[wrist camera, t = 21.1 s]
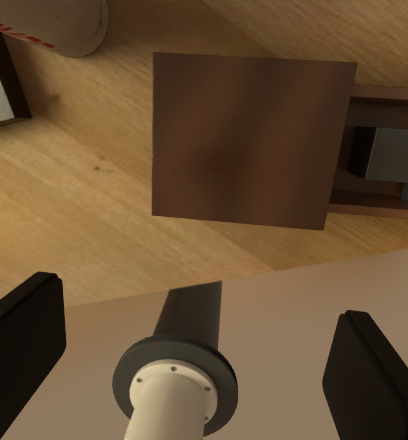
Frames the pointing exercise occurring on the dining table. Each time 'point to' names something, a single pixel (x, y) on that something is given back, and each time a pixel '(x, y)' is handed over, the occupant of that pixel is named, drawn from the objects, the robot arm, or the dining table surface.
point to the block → (380, 154)
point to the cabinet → (247, 137)
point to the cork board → (10, 91)
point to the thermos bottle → (57, 24)
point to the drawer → (344, 181)
